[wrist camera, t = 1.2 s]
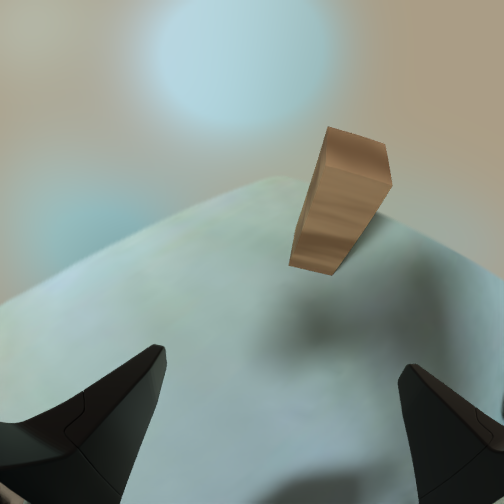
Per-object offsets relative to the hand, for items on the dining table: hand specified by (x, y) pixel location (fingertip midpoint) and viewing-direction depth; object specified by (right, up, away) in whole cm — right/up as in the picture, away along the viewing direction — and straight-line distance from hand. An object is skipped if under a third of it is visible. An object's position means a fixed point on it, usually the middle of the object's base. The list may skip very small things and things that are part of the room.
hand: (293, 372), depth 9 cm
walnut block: (+5, +4, +19) cm, 20 cm away
